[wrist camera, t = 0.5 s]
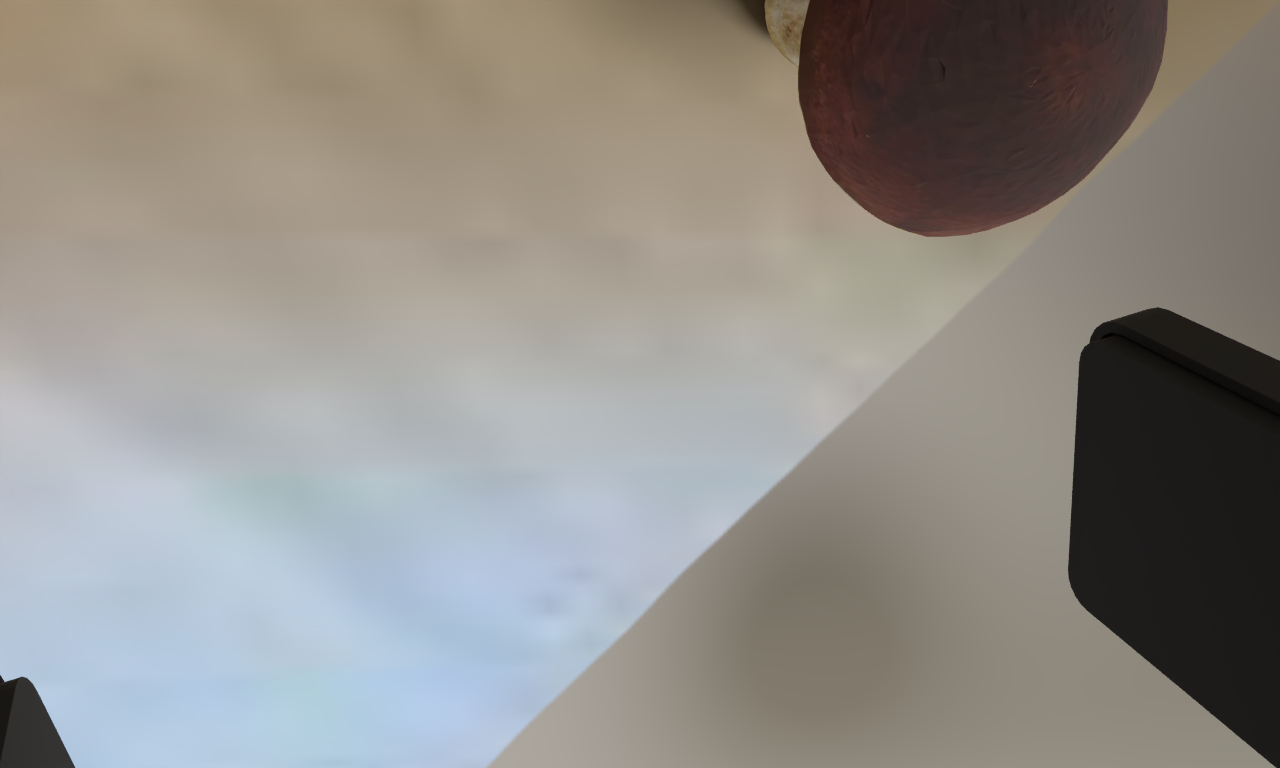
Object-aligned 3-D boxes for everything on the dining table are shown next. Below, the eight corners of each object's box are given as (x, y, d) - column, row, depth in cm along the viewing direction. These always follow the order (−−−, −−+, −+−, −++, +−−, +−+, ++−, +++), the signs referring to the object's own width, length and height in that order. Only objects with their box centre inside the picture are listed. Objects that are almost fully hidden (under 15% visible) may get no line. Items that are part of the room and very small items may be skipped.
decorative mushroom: (851, 195, 44) (1127, 330, 31) (604, 93, 39) (811, 205, 26) (981, -87, 41) (1344, -65, 28) (733, -235, 36) (1037, -291, 23)
